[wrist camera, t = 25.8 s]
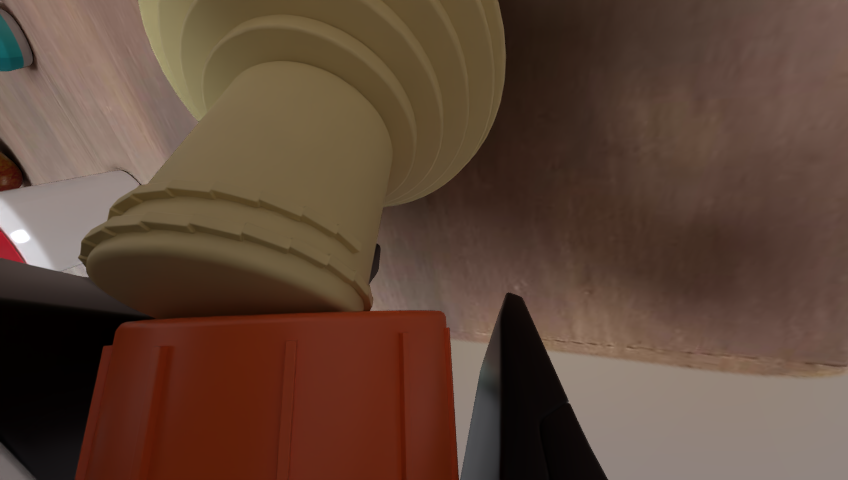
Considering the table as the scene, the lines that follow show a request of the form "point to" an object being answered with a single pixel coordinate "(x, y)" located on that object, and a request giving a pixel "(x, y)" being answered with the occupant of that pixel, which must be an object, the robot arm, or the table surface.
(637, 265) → the table surface
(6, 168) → the fruit
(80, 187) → the pill bottle
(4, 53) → the beverage can
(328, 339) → the cap
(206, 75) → the bottle
